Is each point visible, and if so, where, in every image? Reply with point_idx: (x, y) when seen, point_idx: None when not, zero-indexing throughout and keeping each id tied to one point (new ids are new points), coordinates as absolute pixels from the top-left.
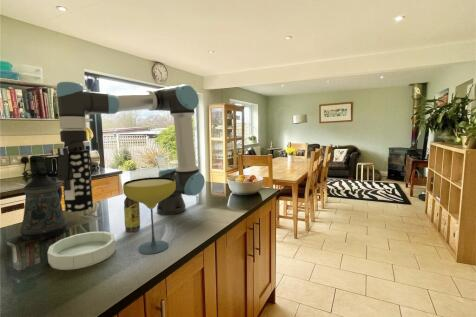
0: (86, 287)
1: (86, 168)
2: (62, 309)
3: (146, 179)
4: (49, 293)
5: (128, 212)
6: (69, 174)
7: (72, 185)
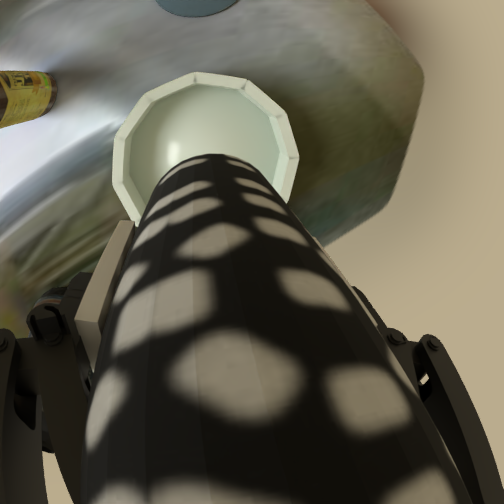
0: (365, 101)
1: (364, 360)
2: (409, 126)
3: None
4: (364, 162)
5: (20, 97)
6: (413, 367)
7: (355, 295)
